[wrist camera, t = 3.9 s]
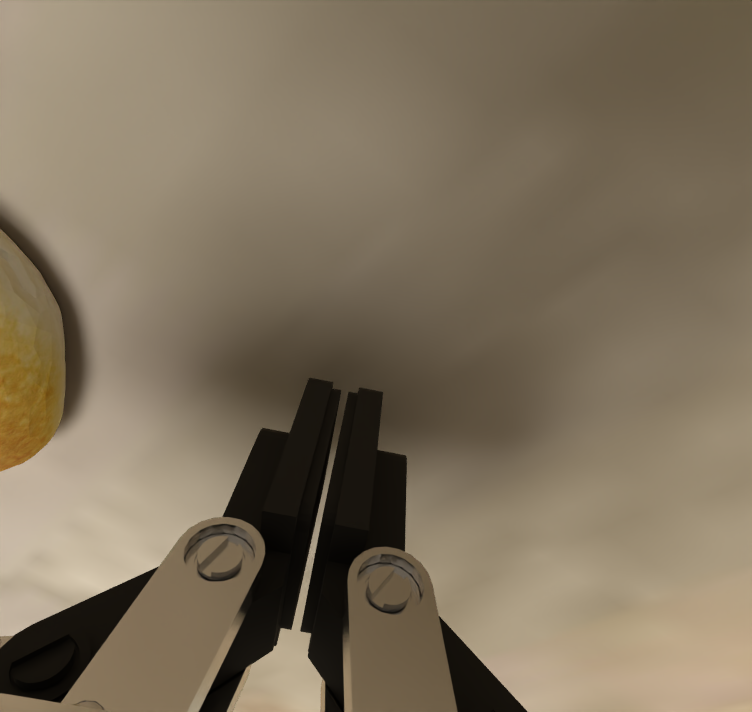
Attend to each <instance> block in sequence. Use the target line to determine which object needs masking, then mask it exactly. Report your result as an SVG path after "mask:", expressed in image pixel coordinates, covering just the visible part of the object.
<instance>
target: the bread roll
mask: <svg viewBox="0 0 752 712" xmlns="http://www.w3.org/2000/svg"><path fill="white" fill-rule="evenodd" d="M64 358H65V342H64V330H63V323H62V315H61V312H60V308H59V306H58V304H57V302H56V300H55V298H54V296H53V295H52V293H51V291H50V289H49V288H48V286H47V284H46V283H45V281H44V279H43V277H42V275H41V273H40V272H39V271H38V269H37V268H36V267H35V266H34V264H33V263H32V262H31V261H30V260H29V259H28V258H27V256H26V255H25V254H24V253H23V252H22V251H21V250H20V249H19V248H18V246H17V245H16V244H15V243H14V242H13V241H12V240H11V239H10V238H9V237H8V236H7V235H6V234H5V233H4V232H3V231H2V230H1V229H0V471H3V470H6V469H8V468H11V467H13V466H16V465H19V464H22V463H24V462H25V461H27V460H28V459H30V458H31V457H33V456H34V455H35V454H36V453H38V452H39V451H40V450H41V449H42V448H43V447H44V446H45V445H46V444H47V443H48V442H49V441H50V440H51V438H52V437H53V436H54V434H55V432H56V430H57V428H58V426H59V424H60V421H61V418H62V415H63V408H64V397H65V389H66V387H65V381H66V364H65V359H64Z"/></svg>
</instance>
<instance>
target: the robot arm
mask: <svg viewBox="0 0 752 712" xmlns="http://www.w3.org/2000/svg"><path fill="white" fill-rule="evenodd" d="M332 387H333V382H329V381H324V380H319V379H314V378H309V380H308V382H307V385H306V388H305V391H304V394H303V397H302V399H301V402H300V405H299V408H298V411H297V414H296V417H295V419H294V422H293V425H292V428H291V431H290V433H286V432H281V431H276V430H270V429H265V428H262V429H261V431H260V432H259V434H258V437H257V439H256V441H255V444H254V446H253V448H252V450H251V453H250V455H249V457H248V460H247V462H246V464H245V467H244V469H243V471H242V473H241V476H240V478H239V480H238V483H237V485H236V487H235V489H234V492H233V494H232V496H231V499H230V501H229V503H228V506H227V508H226V510H225V512H224V515H223V517H219V518H211V519H208V520H205V521H201V522H199V523H198V524H196V525H194V526H193V527H191V528H189V529H188V530H187V531H186V532H185V533H184V534H183V535H182V536H181V537H180V538H179V540H178V541H177V543H176V544H175V545H174V547H173V548H172V550H171V551H170V552H169V554H168V555H167V556H166V558H165V559H164V561H163V562H162V563H161V565H160V566H159V567H157V568H155V569H152V570H150V571H148V572H146V573H144V574H141V575H139V576H137V577H135V578H133V579H131V580H128V581H126V582H124V583H122V584H120V585H118V586H115V587H113V588H111V589H109V590H107V591H104V592H102V593H100V594H98V595H96V596H94V597H91V598H89V599H87V600H85V601H83V602H80V603H78V604H76V605H74V606H72V607H70V608H67V609H65V610H63V611H61V612H59V613H57V614H54V615H52V616H50V617H48V618H46V619H43V620H41V621H39V622H37V623H35V624H33V625H31V626H29V627H27V628H26V629H24V630H22V631H21V632H19V633H17V634H16V635H14V636H1V637H0V712H233V710H234V708H235V706H236V703H237V701H238V699H239V696H240V694H241V692H242V690H243V687H244V685H245V683H246V680H247V678H248V676H249V672H250V668H251V665H252V664H253V663H254V662H256V661H257V660H259V659H260V658H262V657H263V656H265V655H266V654H268V653H269V652H271V651H272V650H273V647H274V646H276V645H277V641H278V637H279V633H280V628H285V629H290V630H291V629H292V625H293V620H294V616H295V611H296V607H297V602H298V598H299V593H300V589H301V585H302V580H303V576H304V571H305V567H306V562H307V558H308V553H309V549H310V544H311V540H312V535H313V531H314V526H315V522H316V517H317V513H318V508H319V504H320V499H321V495H322V490H323V485H324V480H325V475H326V470H327V464H328V459H329V454H330V448H331V443H332V437H333V432H334V427H335V421H336V416H337V411H338V405H339V400H340V395H341V390H336V389H332ZM382 396H383V392H380V391H375V390H370V389H364V388H359V391H358V394H357V393H352V392H349V393H348V398H347V403H346V407H345V412H344V417H343V422H342V426H341V431H340V436H339V441H338V446H337V450H336V455H335V460H334V465H333V469H332V474H331V479H330V484H329V488H328V493H327V498H326V503H325V508H324V512H323V517H322V522H321V527H320V532H319V537H318V543H317V548H316V553H315V558H314V563H313V569H312V574H311V579H310V584H309V589H308V595H307V600H306V605H305V610H304V615H303V620H302V626H301V632H307V633H311V638H310V644H309V649H308V652H309V653H308V658H309V659H310V661H311V662H312V663H313V665H314V666H315V668H316V669H317V671H318V672H319V674H320V675H321V677H322V684H321V712H527V711H526V710H525V709H524V707H523V706H522V705H521V704H520V703H519V702H518V701H517V700H516V699H515V698H514V697H513V695H512V694H511V693H510V692H509V691H508V690H507V689H506V688H505V687H504V686H503V685H502V684H501V682H500V681H499V680H498V679H497V678H496V677H495V676H494V675H493V674H492V673H491V672H490V671H489V669H488V668H487V667H486V666H485V665H484V664H483V663H482V662H481V661H480V660H479V659H478V658H477V656H476V655H475V654H474V653H473V652H472V651H471V650H470V649H469V648H468V647H467V646H466V645H465V643H464V642H463V641H462V640H461V639H460V638H459V637H458V636H457V635H456V634H455V633H454V632H453V630H452V629H451V628H450V627H449V626H448V625H447V624H446V623H445V622H444V621H443V620H442V619H441V617H440V616H439V615H438V610H437V605H436V600H435V595H434V589H433V585H432V582H431V579H430V576H429V574H428V572H427V571H426V569H425V568H424V567H423V565H422V564H421V563H420V562H419V561H418V560H417V559H415V558H414V557H413V556H412V555H410V554H408V553H406V552H405V519H406V474H407V458H406V456H405V455H400V454H395V453H389V452H384V451H379V450H377V446H378V436H379V426H380V416H381V406H382Z"/></svg>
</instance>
